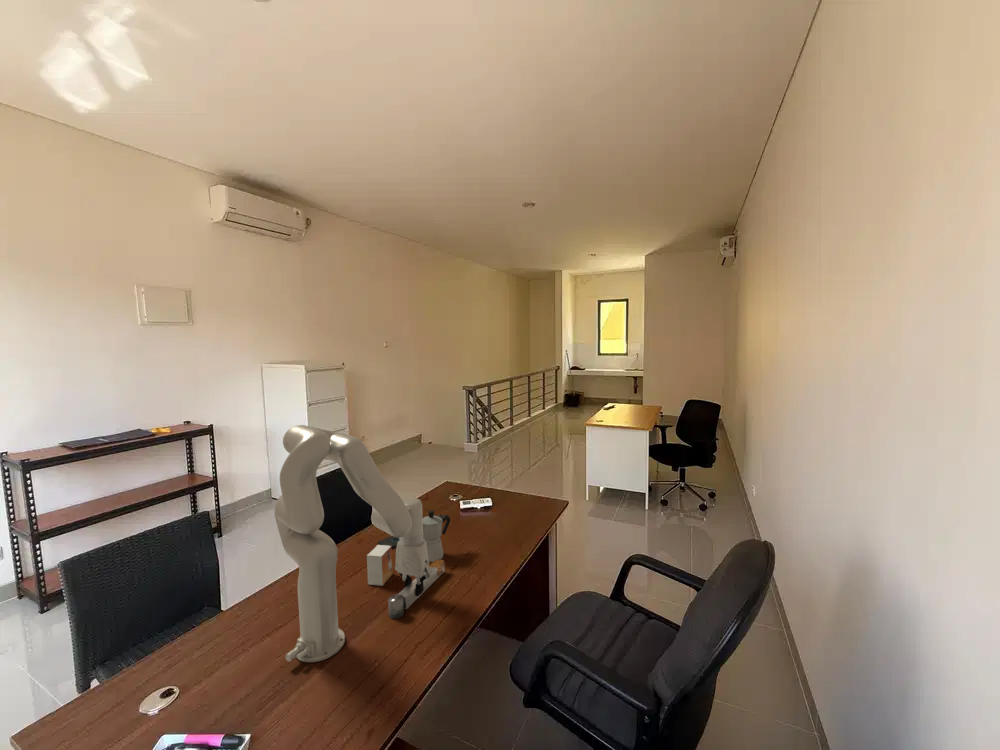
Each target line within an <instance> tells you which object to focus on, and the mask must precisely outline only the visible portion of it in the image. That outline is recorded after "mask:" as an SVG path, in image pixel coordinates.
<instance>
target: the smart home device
mask: <svg viewBox="0 0 1000 750" xmlns="http://www.w3.org/2000/svg"><path fill="white" fill-rule="evenodd" d="M398 541H400V539H399V538H397V537H393V536H391V535H390V536H388V537H386V538H383V539H381V540H378V541H377V545H387V546H392V550H393V549H395V548H396V549H397V543H398Z"/></svg>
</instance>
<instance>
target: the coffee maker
mask: <svg viewBox="0 0 1000 750" xmlns="http://www.w3.org/2000/svg"><path fill="white" fill-rule="evenodd" d="M427 513H428V516H427V515H426V516H424V517H423V537H424V541H425V543H426V547H427V552H428V559H429V563H433V562H434V561H435V560H443V557H444V555H445V554H444V549H443V543H442V539H441V537H442V535H443V536H445V534H446V533H447V530H448V527H449V526H450V522H452V521H451V518H450V516H449V515H448V514H444V515H442V514H441V513H440V514H438V515H434V514H435V510H432V509H430V510H428V511H427ZM444 522H445V523H444ZM443 523H444V526H443Z"/></svg>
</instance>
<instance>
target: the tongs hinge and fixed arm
mask: <svg viewBox="0 0 1000 750" xmlns="http://www.w3.org/2000/svg"><path fill="white" fill-rule="evenodd" d="M438 561H440V560H435V561H434V562H431V563H430V564H429V569H431V568H432V567H433V566H434V565H435V564H436V563H437V562H438ZM425 574H426V573H425V571H424V575H425ZM420 578H421V577H420ZM416 582H417V580H416V577H415V578H414V579H412V582H411V583H410V584H409V585H408V586H406V587H405V588H403V589H402V590H401V591H400V592H398V593H397V594H396V593H395V594H392V595H391V596H389V597H388V599H387V601H388V602H387V603H388V604H387V605H388V617H389V618H390V619H392V620H397V619H400V618H402V617H403V616H404V614H405V612H404V611H405V609H404V605H403V596H402V595H403V594H404V593H405V592H406V591H408V590H409V589H410V588H411V587H412V586H413V585H414V584H415V583H416Z"/></svg>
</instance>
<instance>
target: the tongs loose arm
mask: <svg viewBox="0 0 1000 750" xmlns="http://www.w3.org/2000/svg"><path fill="white" fill-rule="evenodd" d="M430 571H431V573H432V576H431V577H430V578H427V579H425V580H424V581H423V587H424V590H423V592H422V593H421V594H420V595H419V596H416V584H417V582H416V583H415V584H414V585H413V586H412V587H411V588H410V589H409V590H408V591H406V592H405V593H404V594H403V595H402V596H403V605H404V610H405V611H406V610H407V609H409V608H410V607H411V606H412V605H413V604H414V603H415V602H416V601H417V599H419V598H420V597H421V596H423V593H425V592H426V590H428V589H429V588H430V587H431V586H432V584H433V583H435V582H436V581H437V579H439V578H440V577H441V575H443V574H444V573H445V571H446V570H445V560H443V559H441V560H440V561H438V562H437V563H436V564H435V565H434V566H433V567H432V568H431V569H430Z"/></svg>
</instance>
